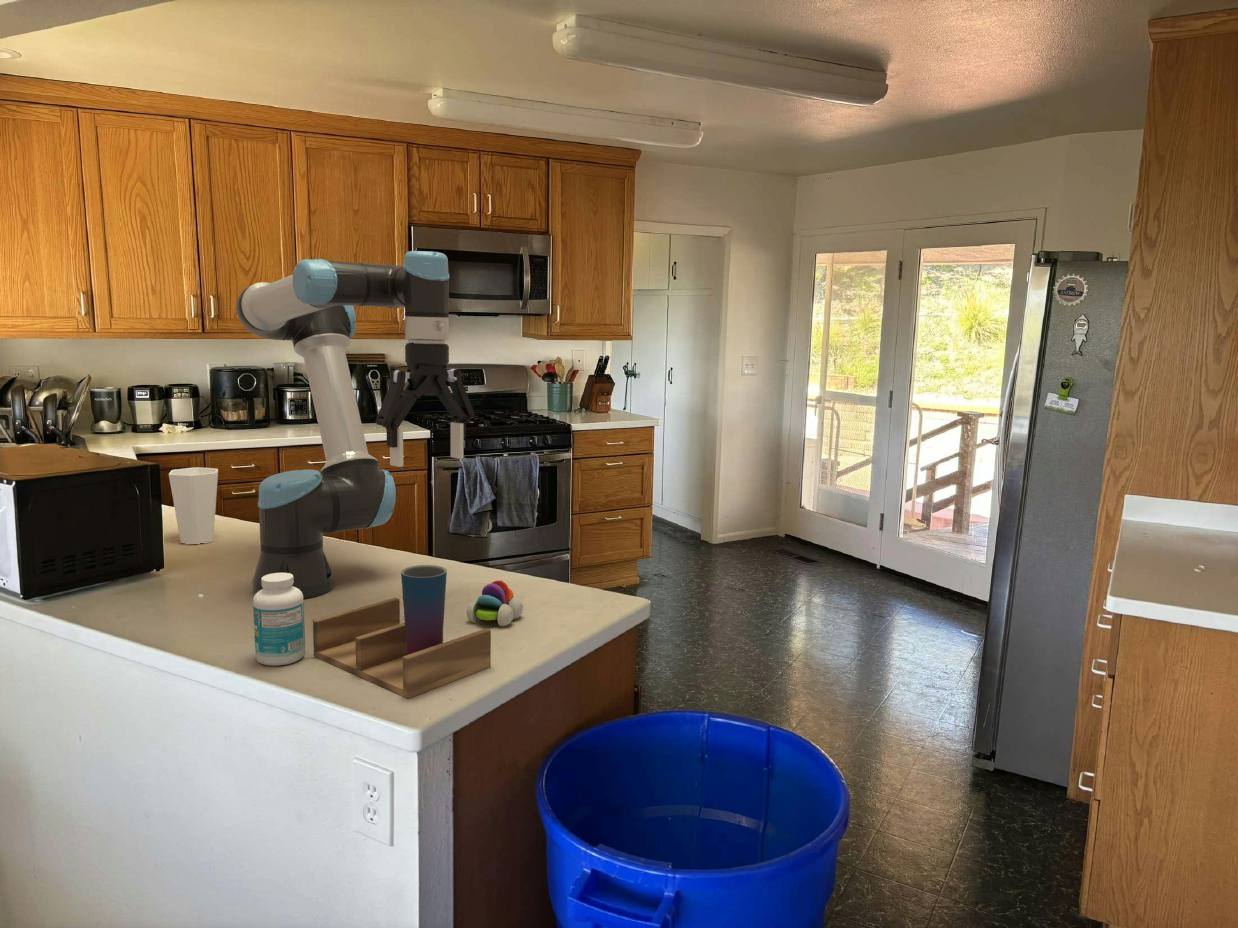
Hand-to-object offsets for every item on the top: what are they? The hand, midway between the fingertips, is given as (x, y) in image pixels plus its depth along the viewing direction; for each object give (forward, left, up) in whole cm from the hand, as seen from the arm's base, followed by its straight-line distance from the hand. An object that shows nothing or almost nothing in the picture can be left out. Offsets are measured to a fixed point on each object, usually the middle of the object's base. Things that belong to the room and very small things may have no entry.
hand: (427, 461), depth 155 cm
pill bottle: (-1, -29, -29) cm, 41 cm away
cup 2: (+20, -17, -28) cm, 38 cm away
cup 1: (-82, -3, -29) cm, 87 cm away
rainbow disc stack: (+11, +7, -29) cm, 32 cm away
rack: (+14, -17, -29) cm, 36 cm away
